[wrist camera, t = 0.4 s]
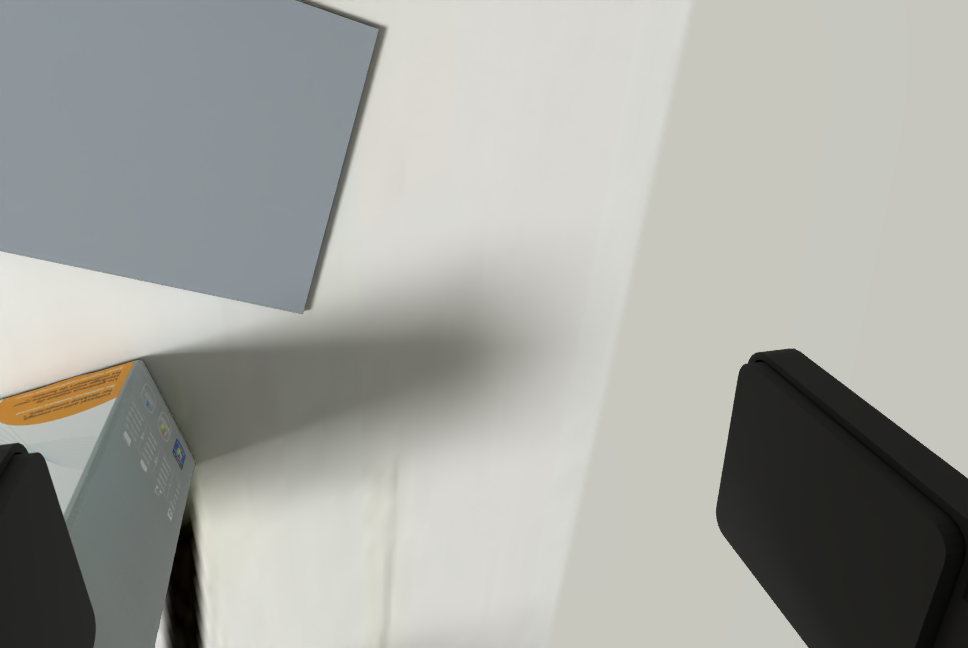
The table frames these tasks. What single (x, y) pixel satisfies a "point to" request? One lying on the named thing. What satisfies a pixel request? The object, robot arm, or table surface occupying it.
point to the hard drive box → (112, 488)
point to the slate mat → (177, 138)
